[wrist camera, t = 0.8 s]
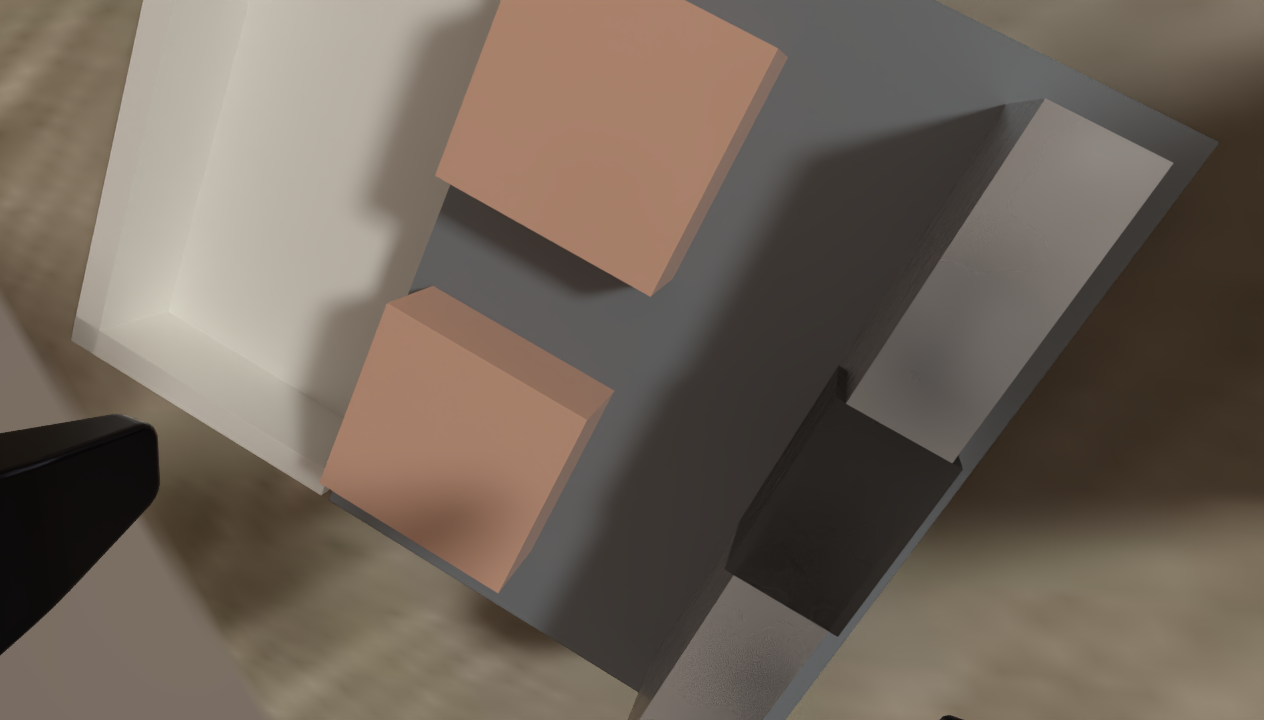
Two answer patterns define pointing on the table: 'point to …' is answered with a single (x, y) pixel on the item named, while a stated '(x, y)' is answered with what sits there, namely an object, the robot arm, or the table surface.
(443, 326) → the tile
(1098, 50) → the table surface
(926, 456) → the sleeved grey plank
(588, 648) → the board
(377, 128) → the tray
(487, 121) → the tile
